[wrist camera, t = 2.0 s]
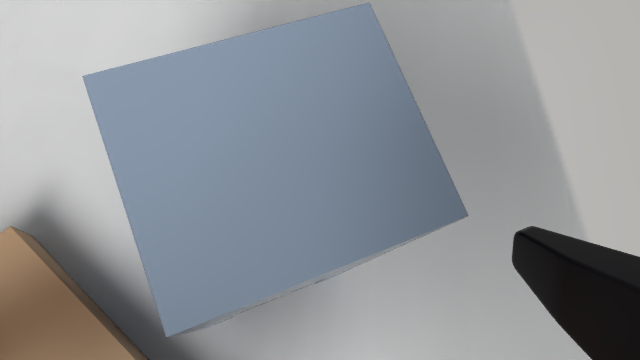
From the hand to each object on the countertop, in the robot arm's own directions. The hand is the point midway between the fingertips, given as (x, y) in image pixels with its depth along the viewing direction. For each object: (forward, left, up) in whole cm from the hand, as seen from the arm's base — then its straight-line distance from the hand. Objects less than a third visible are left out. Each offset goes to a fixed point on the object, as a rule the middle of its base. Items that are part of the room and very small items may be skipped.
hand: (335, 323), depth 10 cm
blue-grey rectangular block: (+3, -2, -11) cm, 11 cm away
